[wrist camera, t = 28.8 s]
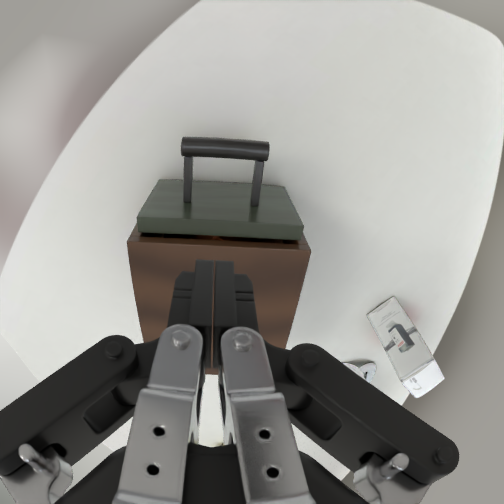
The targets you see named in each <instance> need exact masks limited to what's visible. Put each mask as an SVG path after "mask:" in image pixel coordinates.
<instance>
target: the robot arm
mask: <svg viewBox="0 0 504 504" xmlns="http://www.w3.org/2000/svg"><path fill="white" fill-rule="evenodd" d="M213 273H214V260H199V259H196V264H195V272H188V271H182V272H181V273H180V275H179V276H178V277H177V278H176V280H175V285H174V290H173V296H172V301H171V307H170V312H169V318H168V324H167V328H166V329H165V330H164V331H163V332H162V333H161V335H160V337H159V338H157V339H155V340H153V341H150V342H146V343H141V344H135V345H134V343H133V342H132V341H131V340H130V339H129V338H127V337H125V336H121V335H112V336H108V337H106V338H104V339H102V340H101V341H99V342H98V343H96V344H95V345H93V346H92V347H91V348H89V349H88V350H86V351H85V352H83V353H82V354H80V355H79V356H78V357H76V358H75V359H73V360H72V361H70V362H69V363H67V364H66V365H65V366H63V367H62V368H60V369H59V370H57V371H56V372H55V373H53V374H52V375H50V376H49V377H47V378H46V379H45V380H43V381H42V382H40V383H39V384H37V385H36V386H35V387H33V388H32V389H30V390H29V391H28V392H26V393H25V394H23V395H22V396H20V397H19V398H18V399H16V400H15V401H13V402H12V403H11V404H10V405H8V406H6V407H5V408H4V409H2V410H1V411H0V479H1V480H2V482H3V483H4V485H5V487H6V488H7V490H8V492H9V493H10V495H11V496H12V498H13V499H14V501H15V502H16V504H419V503H420V502H421V500H422V499H423V497H424V495H425V494H426V492H427V490H428V489H429V487H430V485H431V484H432V483H434V482H435V481H437V480H439V479H441V478H442V477H444V476H446V475H448V474H449V473H451V472H452V471H453V470H454V469H455V468H456V467H457V464H458V461H459V452H458V448H457V446H456V445H455V443H454V442H453V441H452V440H450V439H449V438H447V437H446V436H444V435H443V434H442V433H440V432H439V431H437V430H436V429H434V428H433V427H431V426H430V425H428V424H427V423H425V422H424V421H422V420H421V419H420V418H418V417H417V416H415V415H414V414H412V413H411V412H409V411H408V410H407V409H405V408H404V407H402V406H401V405H399V404H398V403H397V402H395V401H394V400H392V399H391V398H390V397H388V396H387V395H385V394H384V393H383V392H381V391H380V390H378V389H377V388H376V387H374V386H373V385H371V384H370V383H369V382H367V381H366V380H364V379H363V378H362V377H360V376H359V375H358V374H356V373H355V372H354V371H352V370H351V369H349V368H348V367H347V366H345V365H344V364H343V363H341V362H340V361H339V360H337V359H336V358H335V357H333V356H332V355H331V354H329V353H328V352H327V351H325V350H324V349H322V348H321V347H319V346H317V345H314V344H309V343H304V344H299V345H297V346H295V347H293V348H292V349H291V350H287V349H283V348H279V347H276V346H273V345H271V344H269V343H268V342H267V341H265V340H264V339H263V338H262V336H261V335H260V333H259V329H258V321H257V314H256V306H255V298H254V291H253V283H252V281H251V280H250V279H249V277H248V276H247V275H246V274H234V261H220V260H216V262H215V282H214V308H213V368H218V391H219V400H220V409H221V417H222V426H223V438H224V445H223V446H219V447H206V446H203V445H199V444H198V443H199V424H200V414H201V405H202V396H203V384H204V382H205V368H211V340H212V303H213ZM131 417H133V420H132V424H131V428H130V433H129V437H128V442H127V446H124V447H122V448H120V449H118V450H116V451H115V452H113V453H112V454H110V455H109V456H108V457H107V458H106V459H104V461H102V462H101V463H100V464H99V465H98V466H97V467H95V468H94V469H93V470H92V471H91V472H90V473H89V474H88V475H86V476H85V477H84V478H83V479H82V480H81V481H79V482H78V483H77V484H76V485H75V486H74V487H72V488H71V489H70V490H69V491H68V492H66V493H65V494H64V492H65V491H66V489H67V488H68V487H69V486H70V485H71V483H72V480H73V471H72V467H71V466H72V465H74V464H75V463H76V462H78V461H79V460H80V459H81V458H83V457H84V456H85V455H86V454H88V453H89V452H90V451H91V450H93V449H94V448H95V447H96V446H98V445H99V444H100V443H101V442H103V441H104V440H105V439H106V438H107V437H109V436H110V435H111V434H112V433H114V432H115V431H116V430H117V429H118V428H120V427H121V426H122V425H123V424H124V423H126V422H127V421H128V420H129V419H130V418H131ZM291 423H292V424H293V425H295V426H296V427H297V428H298V429H299V430H300V431H302V432H303V433H304V434H305V435H306V436H308V437H309V438H310V439H311V440H313V441H314V442H315V443H316V444H317V445H319V446H320V447H321V448H322V449H324V450H325V451H326V452H328V453H329V454H330V455H331V456H333V457H334V458H335V459H337V460H338V461H339V462H340V463H342V464H343V465H344V466H346V467H347V468H348V469H350V470H351V471H353V472H354V473H355V474H354V478H353V483H354V486H355V488H356V490H357V491H358V492H359V493H360V494H361V495H362V496H363V497H364V499H363V498H362V497H360V496H359V495H358V494H356V493H355V492H354V491H352V490H351V489H350V488H349V487H347V486H346V485H345V484H344V483H342V482H341V481H340V480H339V479H338V478H336V477H335V476H334V475H333V474H331V473H330V472H329V471H328V470H327V469H325V468H324V467H323V466H322V465H321V464H320V463H318V462H317V461H316V460H315V459H313V458H312V457H310V456H309V455H307V454H305V453H303V452H301V451H299V450H298V448H297V444H296V440H295V436H294V432H293V429H292V425H291Z"/></svg>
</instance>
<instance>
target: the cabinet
mask: <svg viewBox="0 0 504 504" xmlns="http://www.w3.org/2000/svg"><path fill="white" fill-rule="evenodd" d="M154 235H155V233H144V232H138V228H137V223H136V225H135V227H134V229H133V231H132V233H131V235H130V237H129V239H128V240H127V248H128V255H129V263H130V270H131V276H132V283H133V289H134V295H135V301H136V306H137V311H138V317H139V322H140V327H141V331H142V336H143V341H144V343H146V342H150V341H153V340H155V339H157V338H159V337H160V335H161V333H162V332H163V331H164V330H165V329H166V328H167V324H168V318H169V312H170V307H171V301H172V296H173V290H174V285H175V280H176V278H177V277H178V276H179V275H180V273H181V272H182V271H188V272H195V264H196V259H199V260H214V273H213V303H212V340H211V368H205V374H212V375H218V368H213V308H214V282H215V262H216V260H220V261H234V274H246V275H247V276H248V277H249V279H250V280H251V281H252V283H253V291H254V298H255V306H256V314H257V321H258V329H259V333H260V335H261V336H262V338H263V339H264V340H265V341H267V342H268V343H269V344H271V345H273V346H276V347H279V348H283V349H285V348H286V344H287V341H288V337H289V334H290V330H291V327H292V323H293V319H294V316H295V312H296V308H297V305H298V301H299V297H300V293H301V290H302V286H303V282H304V278H305V274H306V270H307V266H308V262H309V258H310V254H311V249H310V247H309V245H308V243H307V241H306V238H305V236H304V234H303V233H302V238H301V240H284V239H283V242H284V244H280V243H261V242H242V241H223V240H203V239H182V238H160V237H154Z"/></svg>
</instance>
